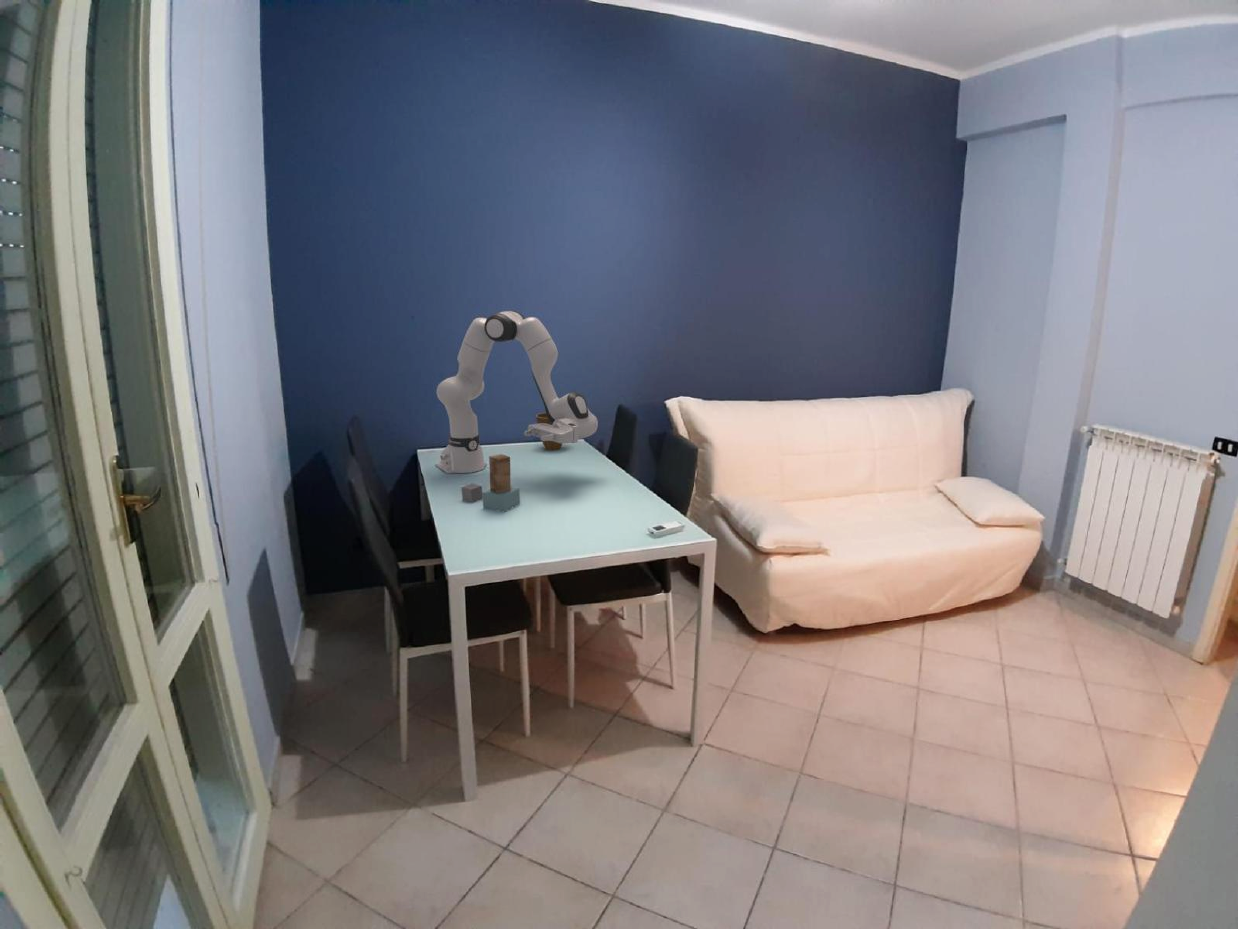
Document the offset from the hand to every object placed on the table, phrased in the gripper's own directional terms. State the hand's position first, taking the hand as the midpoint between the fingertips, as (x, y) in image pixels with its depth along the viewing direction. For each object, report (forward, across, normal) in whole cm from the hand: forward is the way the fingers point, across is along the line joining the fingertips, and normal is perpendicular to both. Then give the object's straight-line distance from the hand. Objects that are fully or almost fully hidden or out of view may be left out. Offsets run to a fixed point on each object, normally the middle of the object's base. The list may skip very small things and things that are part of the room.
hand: (533, 436), depth 221 cm
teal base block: (+18, +5, +22) cm, 28 cm away
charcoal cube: (+21, -8, +22) cm, 31 cm away
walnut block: (+18, +5, +15) cm, 24 cm away
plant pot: (-45, -44, +22) cm, 67 cm away
